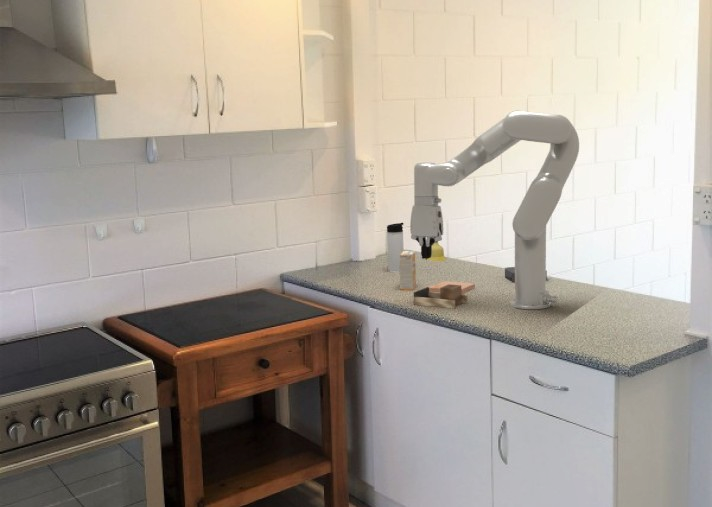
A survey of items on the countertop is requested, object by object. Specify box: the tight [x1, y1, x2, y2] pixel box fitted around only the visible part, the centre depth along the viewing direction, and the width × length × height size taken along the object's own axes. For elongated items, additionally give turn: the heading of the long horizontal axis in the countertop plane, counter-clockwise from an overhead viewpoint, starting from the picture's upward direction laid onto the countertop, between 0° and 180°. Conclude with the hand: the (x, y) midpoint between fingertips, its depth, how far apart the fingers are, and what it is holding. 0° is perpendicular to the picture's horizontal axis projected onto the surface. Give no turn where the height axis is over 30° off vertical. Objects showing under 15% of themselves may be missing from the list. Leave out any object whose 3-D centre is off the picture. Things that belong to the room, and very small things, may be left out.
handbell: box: [427, 237, 447, 262], centre depth 330 cm, size 12×12×25 cm
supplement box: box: [399, 250, 417, 291], centre depth 283 cm, size 8×5×13 cm, turn 168°
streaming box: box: [504, 266, 548, 284], centre depth 289 cm, size 13×13×4 cm
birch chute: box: [413, 286, 468, 309], centre depth 258 cm, size 15×9×4 cm, turn 56°
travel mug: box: [386, 222, 405, 273], centre depth 312 cm, size 6×7×20 cm
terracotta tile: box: [428, 280, 476, 295], centre depth 277 cm, size 12×12×2 cm
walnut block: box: [440, 284, 463, 307], centre depth 256 cm, size 4×6×6 cm
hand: (426, 258), depth 259 cm, fingers closed
